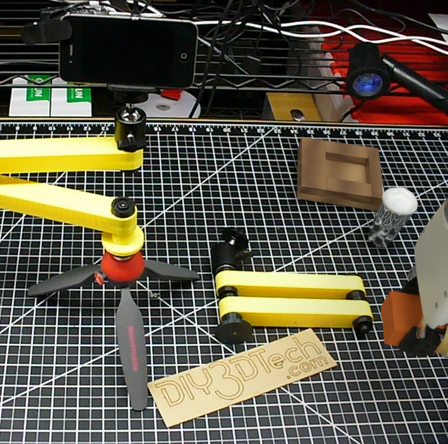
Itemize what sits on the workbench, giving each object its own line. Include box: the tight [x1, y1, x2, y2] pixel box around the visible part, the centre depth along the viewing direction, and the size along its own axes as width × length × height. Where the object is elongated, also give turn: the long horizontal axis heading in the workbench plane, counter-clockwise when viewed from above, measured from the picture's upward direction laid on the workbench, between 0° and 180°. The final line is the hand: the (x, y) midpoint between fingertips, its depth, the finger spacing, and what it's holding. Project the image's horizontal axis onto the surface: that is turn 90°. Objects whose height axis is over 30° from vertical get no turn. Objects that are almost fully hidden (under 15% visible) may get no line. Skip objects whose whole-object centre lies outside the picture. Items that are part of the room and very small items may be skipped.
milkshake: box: [367, 180, 419, 248], centre depth 79 cm, size 4×5×10 cm
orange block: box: [380, 290, 444, 354], centre depth 59 cm, size 6×5×3 cm
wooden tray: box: [296, 136, 383, 212], centre depth 89 cm, size 12×11×3 cm
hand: (411, 327), depth 60 cm, fingers closed on orange block, 4 cm apart
